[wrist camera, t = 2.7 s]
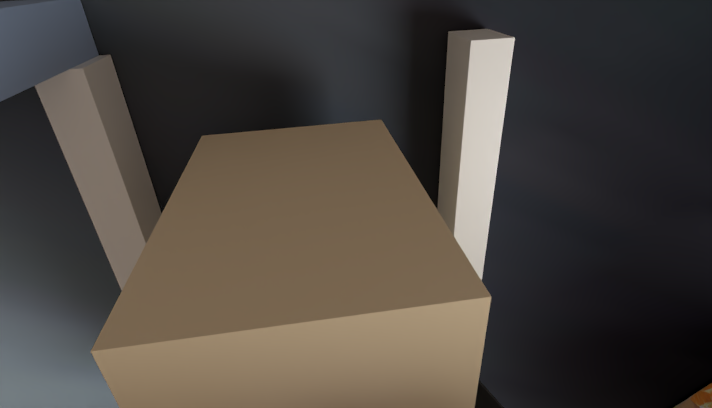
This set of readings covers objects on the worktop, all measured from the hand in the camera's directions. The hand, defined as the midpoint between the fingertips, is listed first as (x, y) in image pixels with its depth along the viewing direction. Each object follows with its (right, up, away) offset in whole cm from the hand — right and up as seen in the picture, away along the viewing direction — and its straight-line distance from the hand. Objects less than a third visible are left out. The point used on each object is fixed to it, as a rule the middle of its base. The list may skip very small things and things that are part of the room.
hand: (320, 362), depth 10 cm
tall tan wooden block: (0, +1, +2) cm, 2 cm away
